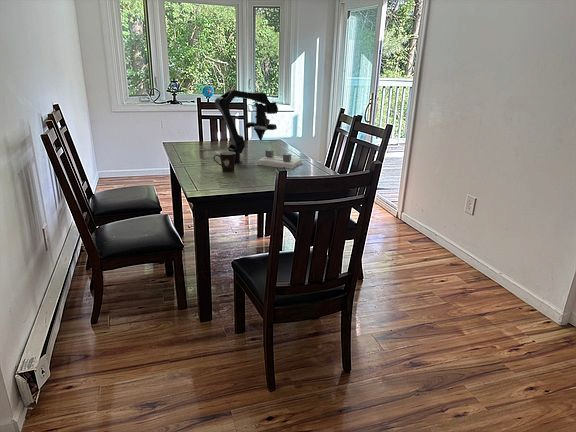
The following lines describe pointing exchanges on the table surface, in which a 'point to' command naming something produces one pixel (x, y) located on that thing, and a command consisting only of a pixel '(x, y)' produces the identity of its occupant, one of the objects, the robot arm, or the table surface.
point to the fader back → (269, 153)
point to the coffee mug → (227, 161)
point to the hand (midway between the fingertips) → (260, 140)
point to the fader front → (287, 157)
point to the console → (279, 162)
